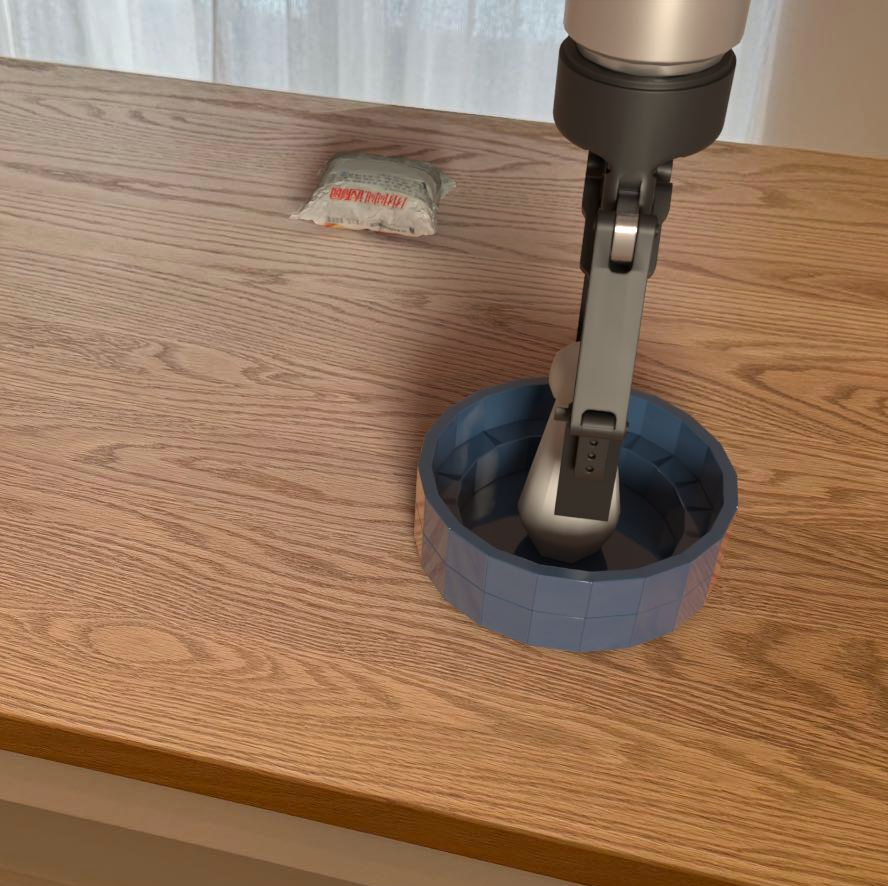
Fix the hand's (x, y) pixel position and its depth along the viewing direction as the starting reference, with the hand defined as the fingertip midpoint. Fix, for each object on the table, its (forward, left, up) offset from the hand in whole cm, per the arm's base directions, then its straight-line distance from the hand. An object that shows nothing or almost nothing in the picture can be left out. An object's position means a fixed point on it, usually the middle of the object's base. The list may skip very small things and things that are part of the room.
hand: (589, 431), depth 68 cm
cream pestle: (0, 0, -8) cm, 8 cm away
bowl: (0, 0, -9) cm, 9 cm away
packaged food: (+18, -35, -9) cm, 40 cm away
